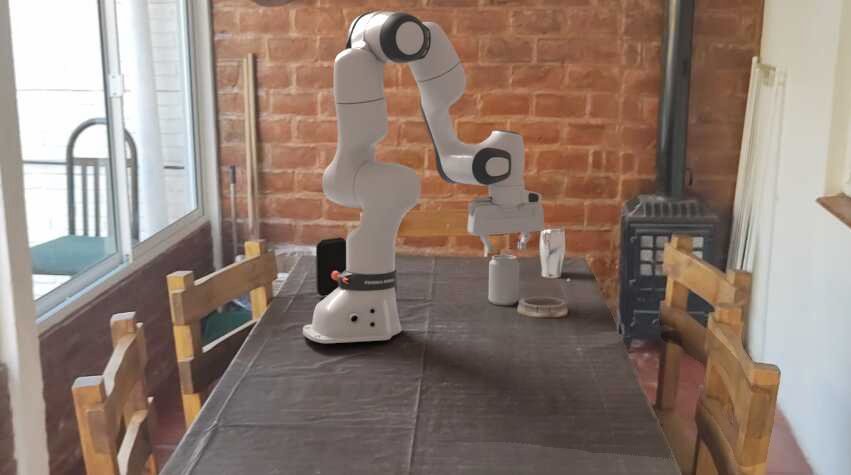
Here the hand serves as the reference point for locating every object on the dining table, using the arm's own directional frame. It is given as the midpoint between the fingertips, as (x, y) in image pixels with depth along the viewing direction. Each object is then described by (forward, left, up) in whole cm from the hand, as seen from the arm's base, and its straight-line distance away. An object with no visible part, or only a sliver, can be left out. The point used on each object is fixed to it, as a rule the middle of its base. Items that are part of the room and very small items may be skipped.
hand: (505, 250), depth 226 cm
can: (0, 0, -14) cm, 14 cm away
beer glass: (+24, +15, -14) cm, 31 cm away
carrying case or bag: (-36, +26, -14) cm, 47 cm away
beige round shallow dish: (+4, -12, -13) cm, 18 cm away
